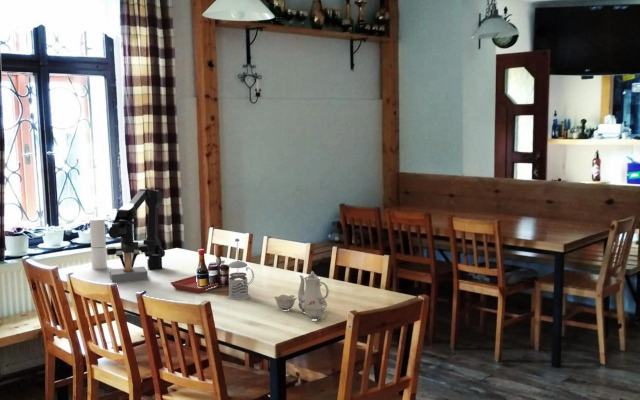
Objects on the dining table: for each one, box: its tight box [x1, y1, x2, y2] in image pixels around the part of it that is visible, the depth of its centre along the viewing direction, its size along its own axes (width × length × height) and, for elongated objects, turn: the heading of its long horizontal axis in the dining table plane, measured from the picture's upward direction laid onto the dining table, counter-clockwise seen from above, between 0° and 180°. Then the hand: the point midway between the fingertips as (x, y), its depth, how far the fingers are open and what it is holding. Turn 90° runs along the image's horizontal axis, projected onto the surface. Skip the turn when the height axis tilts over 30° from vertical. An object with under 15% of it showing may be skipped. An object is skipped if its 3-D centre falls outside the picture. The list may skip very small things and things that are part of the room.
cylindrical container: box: [89, 217, 108, 270], centre depth 342 cm, size 7×7×25 cm
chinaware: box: [274, 270, 330, 320], centre depth 257 cm, size 28×17×17 cm, turn 46°
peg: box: [123, 252, 133, 272], centre depth 317 cm, size 3×3×10 cm
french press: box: [226, 238, 255, 301], centre depth 282 cm, size 10×12×25 cm
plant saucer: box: [170, 275, 218, 294], centre depth 300 cm, size 18×18×3 cm
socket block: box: [109, 266, 149, 284], centre depth 318 cm, size 16×12×4 cm
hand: (128, 267), depth 317 cm, fingers closed on peg, 3 cm apart
